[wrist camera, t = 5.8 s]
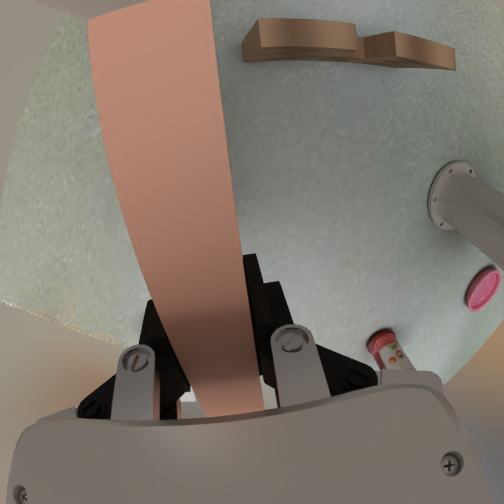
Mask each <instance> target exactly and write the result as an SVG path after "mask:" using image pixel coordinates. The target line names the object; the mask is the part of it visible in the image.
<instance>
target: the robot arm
mask: <svg viewBox="0 0 504 504" xmlns="http://www.w3.org/2000/svg"><path fill="white" fill-rule="evenodd" d="M428 210H429V215H430V218H431V220H432V222H433V223H434V224H435V225H436V226H437V227H439V228H440V229H443V230H451V229H455V230H457V231H458V232H459V233H460V234H462V235H463V236H464V237H465V238H467V239H468V240H469V241H470V242H471V243H473V244H474V245H475V246H476V247H477V248H478V249H480V250H481V251H482V252H483V253H484V254H485V255H486V256H488V257H489V258H490V259H491V260H492V261H493V262H494V263H495V264H496V265H498V266H499V267H500V268H501V269H502V270H503V271H504V194H503V193H501V192H499V191H498V190H496V189H494V188H493V187H491V186H489V185H488V184H486V183H484V182H482V181H480V180H479V179H477V176H476V173H475V171H474V170H473V168H472V167H471V166H470V165H468V164H467V163H465V162H462V161H454V162H451V163H449V164H447V165H446V166H445V167H444V168H443V169H442V170H441V171H440V172H439V173H438V175H437V176H436V178H435V180H434V182H433V184H432V187H431V190H430V193H429V199H428ZM243 267H244V274H245V281H246V288H247V295H248V302H249V309H250V315H251V322H252V329H253V336H254V343H255V349H256V356H257V363H258V369H259V376H261V375H263V379H264V382H265V384H267V385H269V386H271V387H272V388H274V389H275V395H276V402H277V408H275V409H269V410H263V411H256V412H250V413H242V414H235V415H226V416H217V417H207V418H194V419H182V418H181V401H180V397H181V396H182V395H184V394H185V392H191V385H190V383H189V381H188V379H187V377H186V375H185V373H184V371H183V369H182V367H181V365H180V363H179V361H178V358H177V356H176V354H175V352H174V350H173V347H172V345H171V343H170V341H169V339H168V336H167V334H166V332H165V329H164V327H163V325H162V322H161V320H160V317H159V315H158V313H157V310H156V308H155V305H154V303H153V300H149V301H148V302H147V306H146V310H145V315H144V320H143V325H142V330H141V335H140V340H139V345H134V346H131V347H129V348H127V349H126V350H125V351H124V352H123V353H122V354H121V356H120V358H119V361H118V366H117V373H116V374H115V375H114V376H112V377H111V378H110V379H109V380H107V381H106V382H105V383H103V384H102V385H101V386H100V387H98V388H97V389H96V390H95V391H93V392H92V393H91V394H90V395H88V396H87V397H86V398H85V399H84V400H83V401H82V402H81V403H80V405H79V407H78V408H75V407H71V408H68V409H66V410H63V411H60V412H57V413H55V414H52V415H49V416H46V417H43V418H41V419H39V420H37V422H36V423H35V424H32V425H31V426H29V427H27V428H26V429H25V430H24V431H23V432H22V433H21V435H20V437H19V439H18V441H17V444H16V447H15V450H14V454H13V458H12V462H11V467H10V472H9V478H8V485H7V495H6V504H494V500H493V497H492V494H491V490H490V487H489V484H488V481H487V478H486V476H485V473H484V470H483V468H482V465H481V463H480V460H479V458H478V456H477V453H476V451H475V449H474V446H473V444H472V442H471V439H470V437H469V435H468V433H467V432H466V430H465V428H464V426H463V424H462V422H461V420H460V418H459V417H458V415H457V414H456V412H455V410H454V409H453V407H452V406H451V404H450V403H449V401H447V399H446V398H445V397H444V396H443V384H442V381H441V379H440V378H439V376H438V375H437V374H435V373H433V372H430V371H414V370H393V369H382V371H374V370H373V369H372V368H371V367H370V366H368V365H366V364H364V363H361V362H359V361H356V360H354V359H351V358H349V357H346V356H344V355H341V354H339V353H337V352H334V351H332V350H329V349H327V348H324V347H322V346H320V345H317V344H315V341H314V338H313V335H312V333H311V332H310V331H309V330H308V329H307V328H305V327H303V326H301V325H296V324H294V323H293V320H292V317H291V314H290V311H289V308H288V305H287V302H286V299H285V296H284V293H283V290H282V287H281V284H280V282H279V281H275V282H269V283H264V282H263V279H262V275H261V271H260V267H259V264H258V260H257V256H256V253H255V254H248V255H243Z"/></svg>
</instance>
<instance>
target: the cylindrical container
mask: <svg viewBox="0 0 504 504" xmlns="http://www.w3.org/2000/svg"><path fill="white" fill-rule="evenodd" d="M31 1H34V2H37V3H40V4H43V5H45V6H48V7H50V8H53V9H55V10H58V11H60V12H63V13H65V14H68V15H70V16H72V17H75V18H77V19H79V20H81V21H84V22H86V23H87V21H88V20H90V19H93V18H96V17H98V16H101V15H104V14H107V13H110V12H113V11H116V10H119V9H122V8H125V7H129V6H132V5H136V4H139V3H143V2H147V1H151V0H31Z"/></svg>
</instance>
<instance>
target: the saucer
mask: <svg viewBox="0 0 504 504" xmlns="http://www.w3.org/2000/svg"><path fill="white" fill-rule="evenodd" d="M500 281H501V273H500V272H499V271H498V270H497V269H489V270H484V271H482V272H481V273H480V274H479V275H478V276H477V277H476V278H475V279H474V280H473V282H472V283H471V285H470V287H469V289H468V292H467V307H468V309H469V310H470V311H472V312H475V311H478V310H480V309H481V308H483V307H484V306H485V305H486V304H487V303H488V302H489V301H490V300H491V299H492V297H493V296H494V294H495V293H496V291H497V289H498V287H499V285H500Z"/></svg>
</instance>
